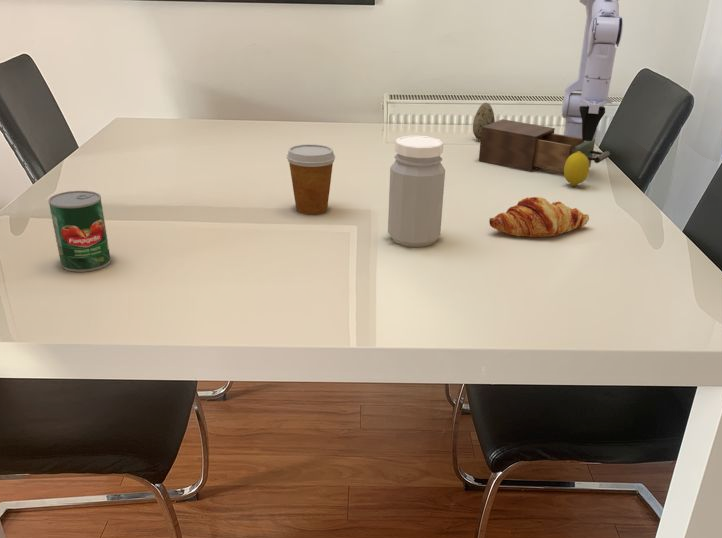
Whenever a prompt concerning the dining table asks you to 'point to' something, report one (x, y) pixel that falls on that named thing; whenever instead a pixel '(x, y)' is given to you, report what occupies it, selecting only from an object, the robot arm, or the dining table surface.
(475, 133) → the decorative egg
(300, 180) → the disposable coffee cup
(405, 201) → the jar
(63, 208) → the canned tomato
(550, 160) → the drawer
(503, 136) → the cabinet
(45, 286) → the dining table surface
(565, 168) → the lemon
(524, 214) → the croissant
